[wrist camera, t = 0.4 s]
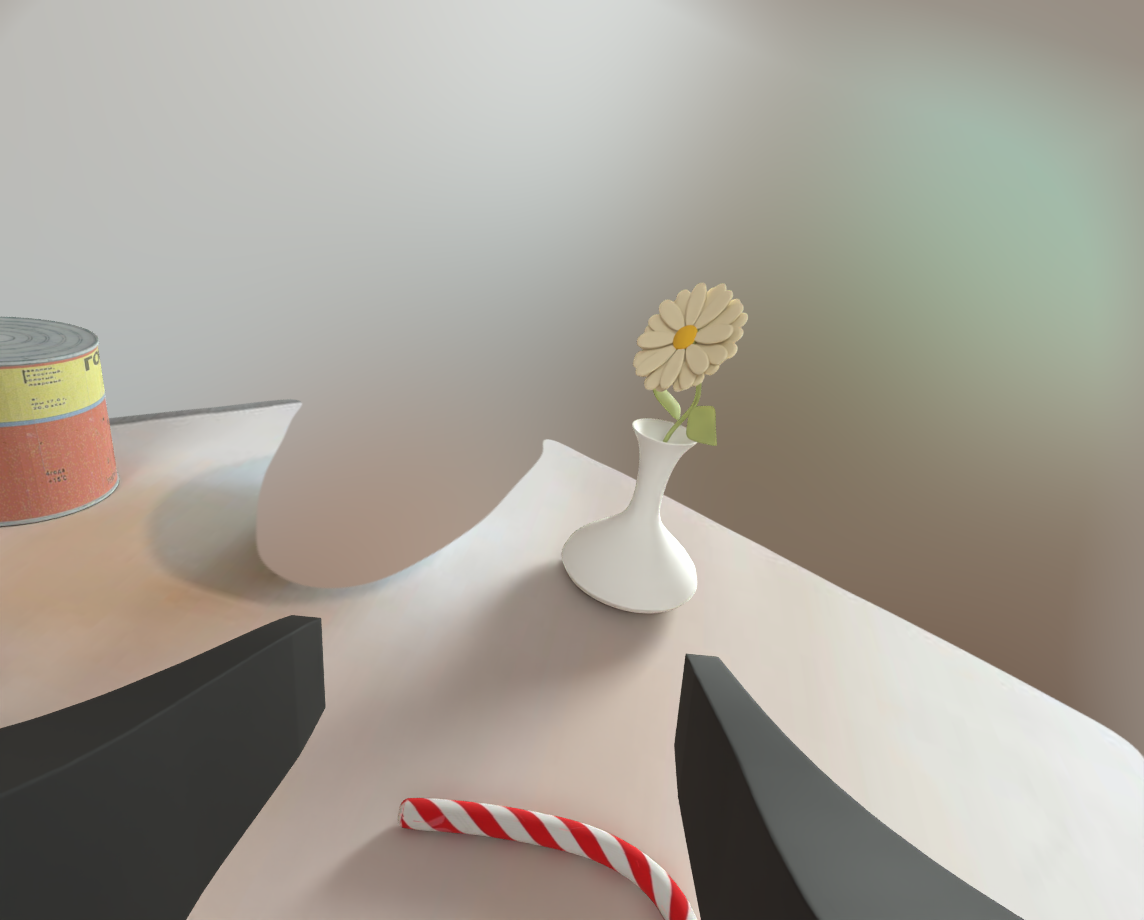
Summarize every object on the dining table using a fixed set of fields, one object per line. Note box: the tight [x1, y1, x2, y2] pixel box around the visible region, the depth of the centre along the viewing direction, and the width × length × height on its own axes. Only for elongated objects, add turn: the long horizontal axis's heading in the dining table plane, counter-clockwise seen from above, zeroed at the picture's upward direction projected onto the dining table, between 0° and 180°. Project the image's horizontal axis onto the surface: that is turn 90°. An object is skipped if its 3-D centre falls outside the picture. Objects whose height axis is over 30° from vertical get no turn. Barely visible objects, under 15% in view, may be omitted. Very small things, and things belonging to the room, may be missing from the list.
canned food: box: [0, 317, 119, 526], centre depth 43 cm, size 11×11×12 cm
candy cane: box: [398, 798, 697, 920], centre depth 25 cm, size 8×1×15 cm
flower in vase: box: [562, 283, 748, 613], centre depth 43 cm, size 13×11×25 cm
